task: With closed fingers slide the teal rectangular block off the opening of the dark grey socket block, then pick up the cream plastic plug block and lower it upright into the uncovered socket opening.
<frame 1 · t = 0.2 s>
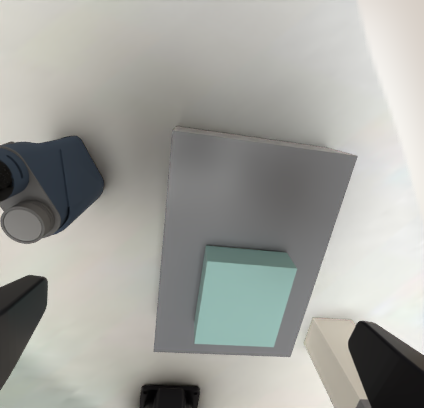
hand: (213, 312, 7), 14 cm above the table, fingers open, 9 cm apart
teal rectangular block: (240, 297, 18), point 5 cm above the table, slide at 0.0 cm
socket: (234, 240, 23), on the table
plug: (327, 331, 27), on the table
vaping device: (81, 166, 20), on the table
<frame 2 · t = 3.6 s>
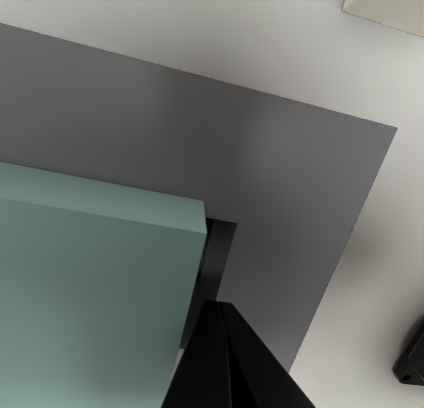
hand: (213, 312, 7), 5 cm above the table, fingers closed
teal rectangular block: (44, 297, 6), point 5 cm above the table, slide at 1.1 cm, touching gripper
socket: (87, 215, 11), on the table
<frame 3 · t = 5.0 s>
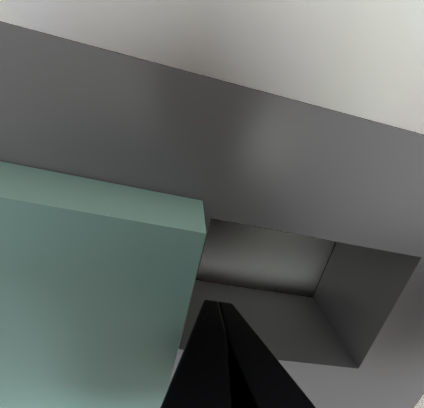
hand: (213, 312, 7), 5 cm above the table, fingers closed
teal rectangular block: (42, 297, 6), point 5 cm above the table, slide at 7.4 cm, touching gripper
socket: (224, 238, 12), on the table
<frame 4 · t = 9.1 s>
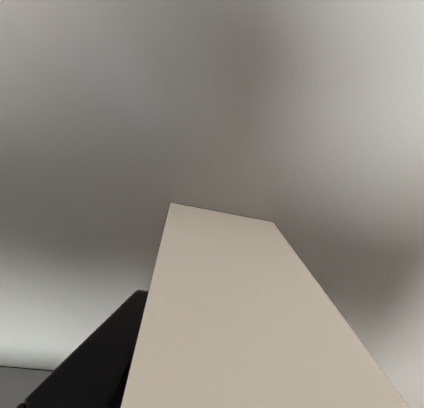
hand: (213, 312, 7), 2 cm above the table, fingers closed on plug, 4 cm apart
plug: (208, 267, 9), on the table, touching gripper
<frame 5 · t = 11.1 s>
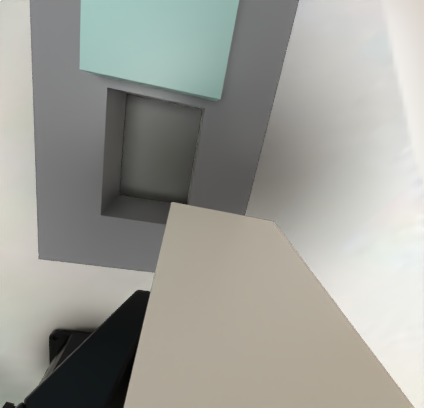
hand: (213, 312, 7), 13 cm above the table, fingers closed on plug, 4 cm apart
socket: (162, 124, 17), on the table
plug: (209, 266, 9), point 10 cm above the table, touching gripper
when the fingers open (5 cm above the table, at t = 13.0 s): plug drops 3 cm, resting in socket.
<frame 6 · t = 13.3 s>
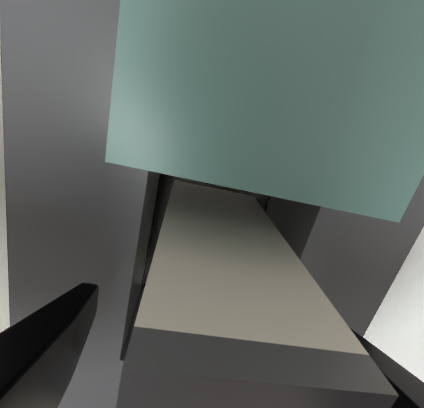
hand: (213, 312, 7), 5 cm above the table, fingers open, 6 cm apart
teal rectangular block: (305, 3, 5), point 5 cm above the table, slide at 7.4 cm
socket: (215, 193, 11), on the table
plug: (203, 232, 12), resting in socket
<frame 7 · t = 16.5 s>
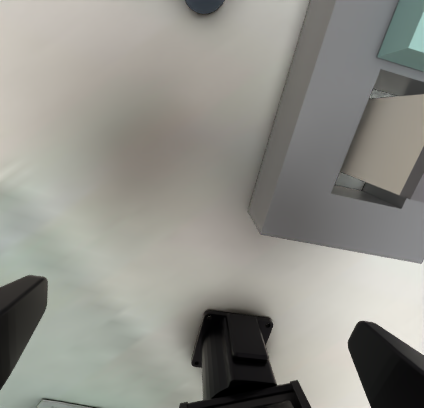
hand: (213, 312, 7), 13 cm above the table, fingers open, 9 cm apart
socket: (362, 110, 18), on the table
plug: (350, 138, 18), resting in socket
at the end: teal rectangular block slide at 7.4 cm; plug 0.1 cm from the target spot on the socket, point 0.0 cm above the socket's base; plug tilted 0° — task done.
